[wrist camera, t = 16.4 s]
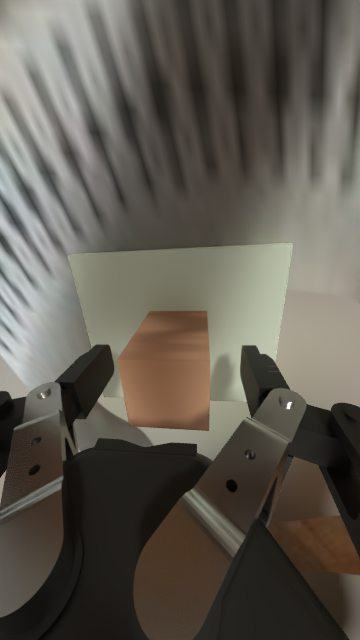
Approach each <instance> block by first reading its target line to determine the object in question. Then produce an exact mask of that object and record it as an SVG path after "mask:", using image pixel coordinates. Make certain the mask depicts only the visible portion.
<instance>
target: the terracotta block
mask: <svg viewBox="0 0 360 640" xmlns="http://www.w3.org/2000/svg"><path fill="white" fill-rule="evenodd" d="M117 363H118V369H119V374H120V379H121V384H122V389H123V394H124V399H125V404H126V409H127V415H128V420H129V425H130V426H136V427H153V428H170V429H189V430H205V431H209V401H210V351H209V335H208V319H207V311H149V313H148V314H147V316H146V317H145V319H144V320H143V322H142V323H141V325H140V326H139V328H138V329H137V331H136V332H135V334H134V335H133V337H132V338H131V339H130V341H129V342H128V344H127V345H126V347H125V348H124V350H123V351H122V353H121V354H120V356H119V357H118V359H117Z"/></svg>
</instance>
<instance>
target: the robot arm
mask: <svg viewBox="0 0 360 640" xmlns="http://www.w3.org/2000/svg"><path fill="white" fill-rule="evenodd" d="M113 374H114V362H113V357H112V353H111V348H110V346H109V345H108V344H96V345H95V346H94V347H93V348H92V349H91V350H90V351H89V352H87V353H85V354H83V355H82V356H80V357H79V358H78V359H77V360H76V361H75V362H74V363H73V364H72V365H71V366H70V367H69V368H68V369H67V370H66V371H65V372H64V373H63V374H62V375H61V376H60V377H59V378H58V379H57V380H56V381H55V382H50V383H46V384H42V385H40V386H38V387H36V388H35V389H33V390H32V391H31V392H30V393H29V394H28V395H27V397H22V398H17V399H12V398H11V396H10V394H9V393H8V392H6V391H0V477H1V476H2V475H3V473H4V472H5V471H6V476H5V481H4V487H3V492H2V498H1V503H0V640H349V639H348V637H347V635H346V634H345V633H344V631H343V630H342V628H341V627H340V626H339V624H338V623H337V622H336V620H335V619H334V618H333V616H332V615H331V614H330V612H329V611H328V610H327V608H326V607H325V605H324V604H323V603H322V602H321V600H320V599H319V597H318V596H317V595H316V593H315V592H314V591H313V589H312V588H311V587H310V585H309V584H308V583H307V581H306V580H305V579H304V577H303V576H302V575H301V573H300V572H299V571H298V569H297V568H296V567H295V565H294V564H293V563H292V561H291V560H290V559H289V557H288V556H287V555H286V553H285V552H284V550H283V549H282V548H281V546H280V545H279V544H278V542H277V541H276V540H275V538H274V537H273V536H272V534H271V533H270V532H269V530H268V529H267V527H268V524H269V522H270V519H271V516H272V514H273V511H274V508H275V505H276V502H277V498H278V496H279V493H280V490H281V488H282V485H283V483H284V480H285V478H286V475H287V473H288V470H289V468H290V465H291V462H292V460H293V458H294V456H295V457H297V458H300V459H303V460H306V461H309V462H312V463H314V464H317V465H319V468H320V470H321V472H322V475H323V477H324V479H325V481H326V484H327V486H328V488H329V490H330V492H331V494H332V496H333V499H334V502H335V504H336V506H337V508H338V510H339V513H340V515H341V517H342V520H343V522H344V524H345V526H346V529H347V531H348V533H349V535H350V538H351V540H352V542H353V544H354V547H355V549H356V551H357V553H358V556H359V558H360V407H358V406H355V405H352V404H348V403H337V404H334V405H333V406H332V408H331V411H329V410H325V409H321V408H318V407H314V406H311V405H308V404H306V402H305V400H304V399H303V398H302V397H301V396H300V395H299V394H298V393H296V392H294V391H292V390H290V388H289V387H288V385H287V383H286V381H285V380H284V378H283V376H282V374H281V372H280V371H279V369H278V367H277V366H276V364H275V362H274V360H273V359H272V358H271V357H269V356H268V355H267V354H260V352H259V350H258V348H257V346H256V345H242V349H241V362H240V376H241V381H242V385H243V388H244V392H245V396H246V400H247V403H248V407H249V411H250V415H251V419H250V418H248V417H246V418H245V419H244V420H243V421H242V422H241V424H240V425H239V427H238V428H237V429H236V431H235V432H234V433H233V435H232V436H231V437H230V439H229V441H228V442H227V443H226V444H225V446H224V447H223V448H222V450H221V451H220V452H219V454H218V455H217V457H216V458H215V459H214V461H212V460H211V459H209V458H208V457H205V456H203V455H201V454H198V453H197V444H187V443H167V444H162V445H156V446H151V447H141V446H138V445H135V444H133V443H130V442H127V441H124V440H119V439H101V438H99V439H98V441H97V443H96V445H95V447H93V448H90V449H86V450H84V451H81V452H79V453H78V447H77V440H76V433H75V426H74V423H73V422H74V421H75V419H86V417H87V416H88V414H89V413H90V411H91V410H92V408H93V406H94V405H95V403H96V402H97V400H98V398H99V397H100V395H101V394H102V392H103V390H104V389H105V387H106V386H107V384H108V382H109V381H110V379H111V378H112V376H113Z"/></svg>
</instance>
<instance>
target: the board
mask: <svg viewBox="0 0 360 640" xmlns="http://www.w3.org/2000/svg"><path fill="white" fill-rule="evenodd" d="M292 248H293V243H273V244H254V245H234V246H215V247H195V248H175V249H156V250H136V251H117V252H97V253H77V254H70V255H68V259H69V263H70V267H71V271H72V275H73V278H74V282H75V286H76V290H77V294H78V298H79V302H80V306H81V310H82V313H83V317H84V321H85V325H86V329H87V333H88V337H89V341H90V345H91V349H92V348H93V347H94V346H95V345H96V344H108V345H109V346H110V348H111V353H112V357H113V362H114V374H113V376H112V378H111V379H110V381H109V382H108V384H107V386H106V387H105V389H104V390H103V395H104V397H124V394H123V389H122V384H121V379H120V374H119V369H118V363H117V359H118V357H119V356H120V354H121V353H122V351H123V350H124V348H125V347H126V345H127V344H128V342H129V341H130V339H131V338H132V337H133V335H134V334H135V332H136V331H137V329H138V328H139V326H140V325H141V323H142V322H143V320H144V319H145V317H146V316H147V314H148V313H149V311H207V319H208V335H209V351H210V400H215V401H245V402H247V400H246V396H245V392H244V388H243V385H242V381H241V376H240V362H241V349H242V345H256V346H257V348H258V350H259V352H260V354H267V355H268V356H269V357H271V358H272V359H273V360H274V362H275V360H276V354H277V347H278V340H279V333H280V327H281V321H282V314H283V308H284V301H285V294H286V288H287V281H288V275H289V268H290V262H291V255H292Z"/></svg>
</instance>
